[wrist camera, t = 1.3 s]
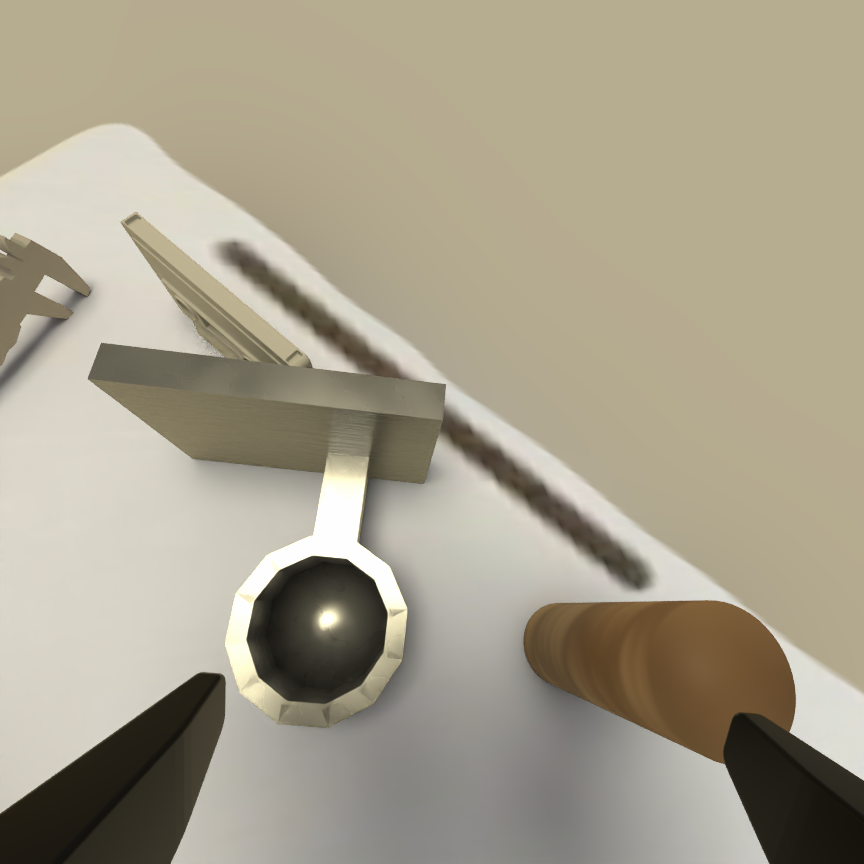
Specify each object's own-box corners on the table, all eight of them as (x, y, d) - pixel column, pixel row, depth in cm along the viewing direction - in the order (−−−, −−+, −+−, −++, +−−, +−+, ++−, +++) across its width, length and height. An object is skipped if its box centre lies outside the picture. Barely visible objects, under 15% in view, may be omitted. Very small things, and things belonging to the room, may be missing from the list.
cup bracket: (401, 708, 23) (411, 777, 14) (129, 685, 23) (-50, 741, 13) (426, 458, 28) (445, 384, 19) (199, 433, 27) (101, 343, 18)
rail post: (599, 689, 25) (808, 771, 12) (522, 683, 24) (658, 759, 12) (596, 606, 26) (782, 607, 14) (524, 599, 26) (647, 594, 14)
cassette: (174, 316, 30) (107, 224, 23) (198, 297, 30) (140, 202, 23) (313, 438, 28) (288, 379, 21) (336, 416, 29) (319, 351, 21)
